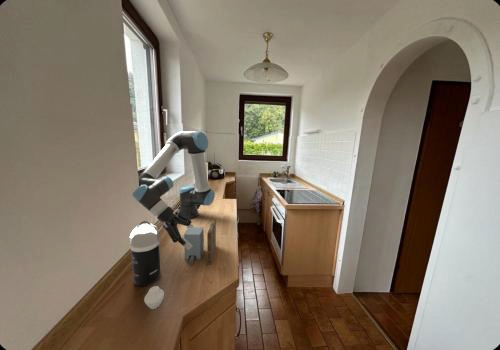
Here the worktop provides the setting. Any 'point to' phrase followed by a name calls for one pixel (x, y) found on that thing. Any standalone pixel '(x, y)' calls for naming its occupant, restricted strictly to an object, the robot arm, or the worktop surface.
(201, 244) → the mini cabinet
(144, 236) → the black white bottle
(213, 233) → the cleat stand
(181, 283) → the worktop surface
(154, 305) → the white rock
